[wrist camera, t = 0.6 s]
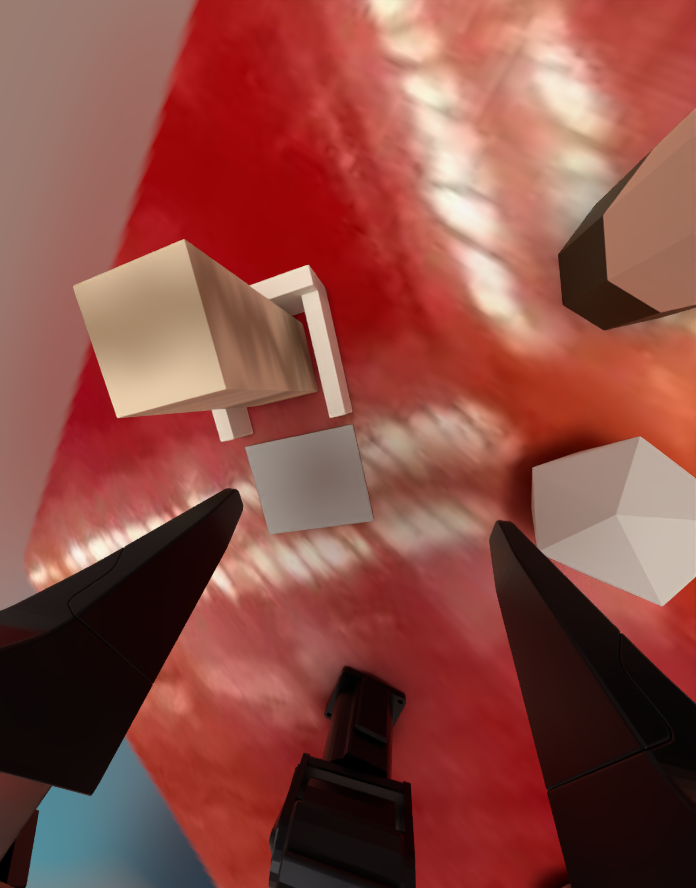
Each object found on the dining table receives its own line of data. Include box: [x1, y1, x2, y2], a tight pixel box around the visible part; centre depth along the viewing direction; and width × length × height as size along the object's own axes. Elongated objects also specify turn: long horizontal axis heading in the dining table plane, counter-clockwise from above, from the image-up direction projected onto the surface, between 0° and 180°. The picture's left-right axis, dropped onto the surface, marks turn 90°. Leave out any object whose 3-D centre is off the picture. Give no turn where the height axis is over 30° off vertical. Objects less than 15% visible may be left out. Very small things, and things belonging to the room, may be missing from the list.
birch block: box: [73, 239, 319, 418], centre depth 17 cm, size 6×6×12 cm
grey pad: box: [245, 424, 374, 534], centre depth 24 cm, size 8×10×1 cm
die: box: [531, 436, 696, 606], centre depth 17 cm, size 8×9×10 cm
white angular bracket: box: [212, 265, 353, 442], centre depth 21 cm, size 10×10×4 cm
